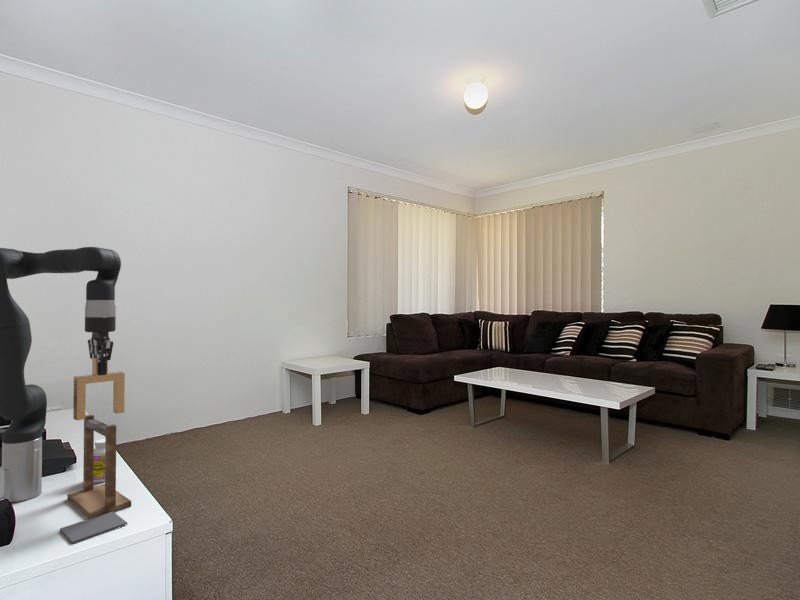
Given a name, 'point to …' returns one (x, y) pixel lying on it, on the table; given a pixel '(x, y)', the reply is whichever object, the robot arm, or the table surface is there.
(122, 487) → the table surface
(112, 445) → the stand
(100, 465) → the supplement bottle
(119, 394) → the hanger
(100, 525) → the mat
